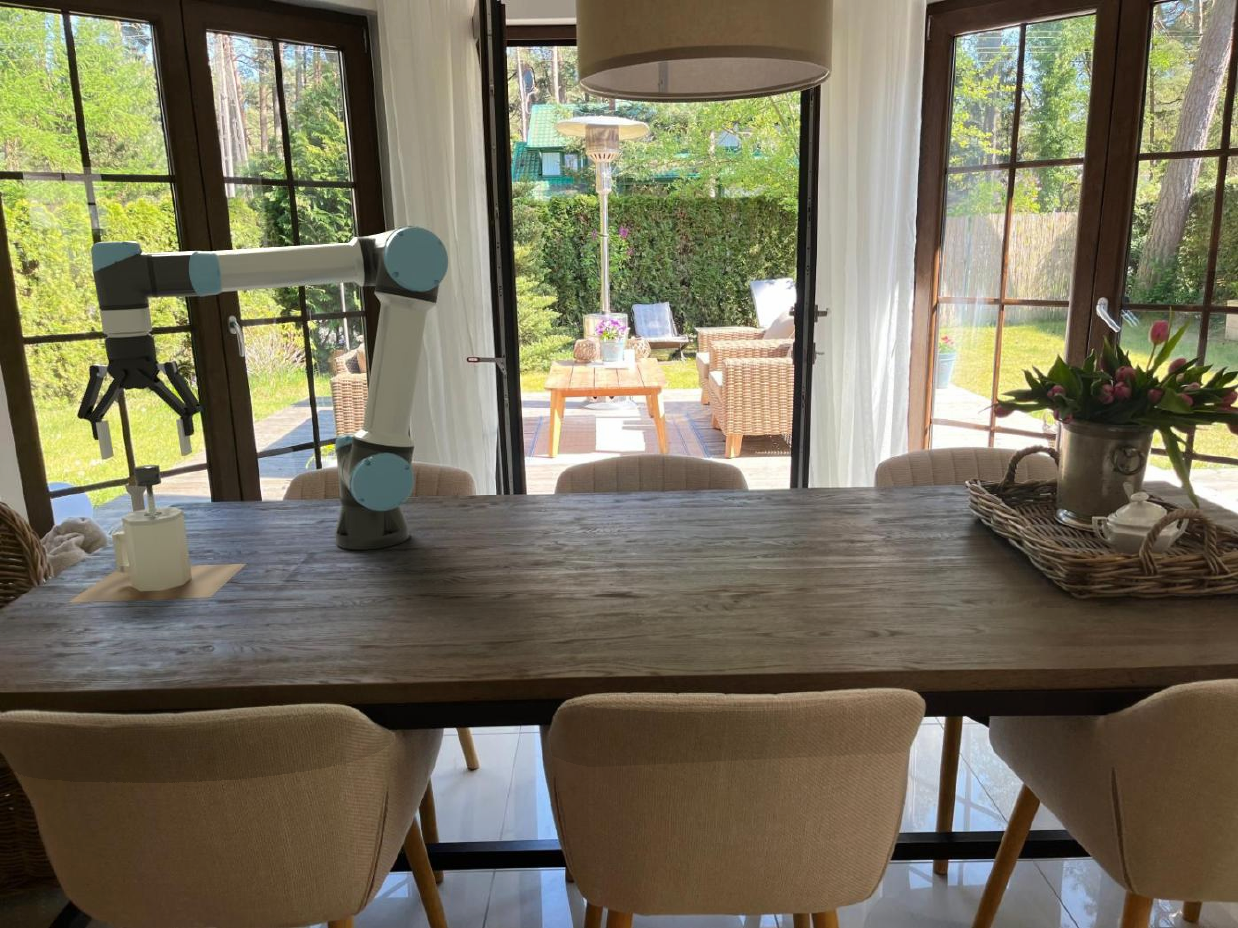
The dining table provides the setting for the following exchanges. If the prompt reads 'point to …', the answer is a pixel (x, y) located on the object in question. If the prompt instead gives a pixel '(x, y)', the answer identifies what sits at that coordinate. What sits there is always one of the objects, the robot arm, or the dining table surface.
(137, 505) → the potion bottle
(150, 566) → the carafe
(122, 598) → the board
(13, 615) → the dining table surface
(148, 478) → the plunger
